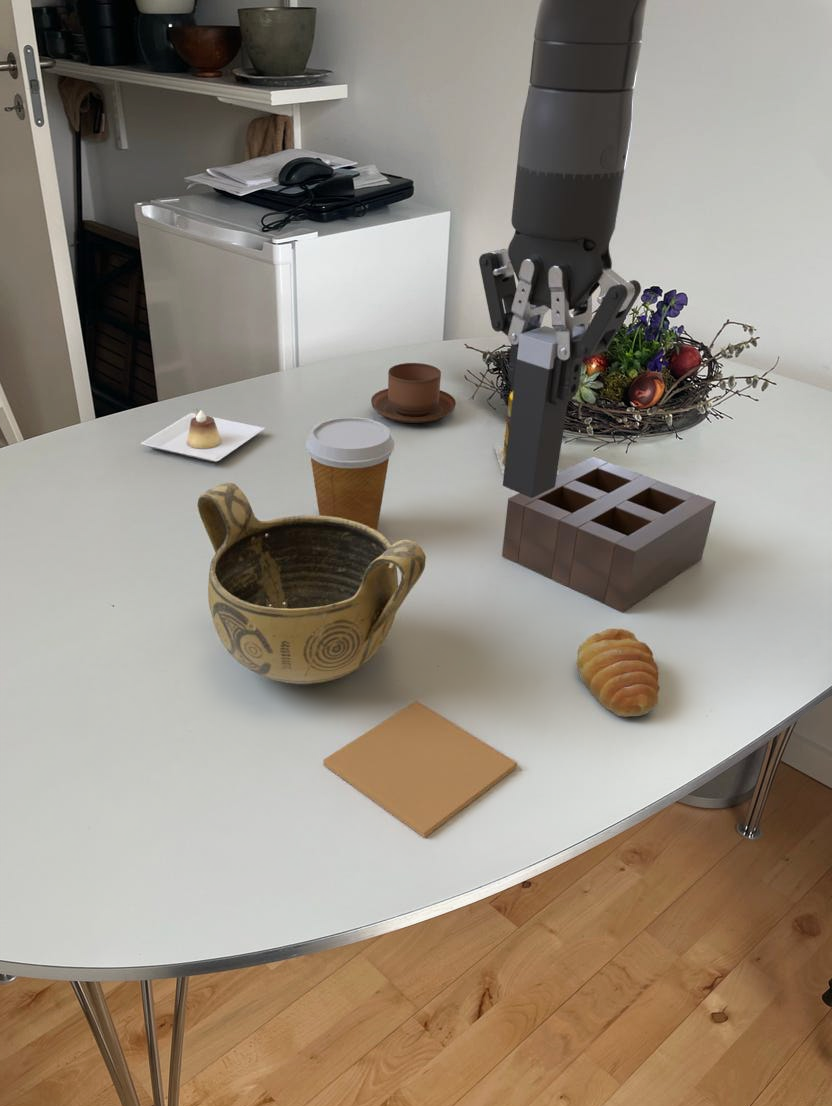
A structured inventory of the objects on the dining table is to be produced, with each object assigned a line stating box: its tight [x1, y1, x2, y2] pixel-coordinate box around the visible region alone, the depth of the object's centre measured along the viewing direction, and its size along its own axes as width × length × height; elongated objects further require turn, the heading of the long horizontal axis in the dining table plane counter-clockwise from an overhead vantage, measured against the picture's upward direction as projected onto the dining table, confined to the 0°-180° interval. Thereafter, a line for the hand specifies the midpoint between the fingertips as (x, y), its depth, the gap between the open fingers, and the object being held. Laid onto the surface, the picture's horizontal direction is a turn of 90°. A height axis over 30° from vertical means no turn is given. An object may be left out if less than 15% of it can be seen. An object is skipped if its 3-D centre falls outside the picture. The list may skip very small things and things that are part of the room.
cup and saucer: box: [370, 362, 457, 424], centre depth 137 cm, size 12×12×6 cm
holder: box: [501, 456, 717, 613], centre depth 103 cm, size 15×15×7 cm
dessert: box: [140, 409, 266, 463], centre depth 128 cm, size 12×12×5 cm
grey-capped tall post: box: [502, 325, 568, 498], centre depth 79 cm, size 3×3×13 cm
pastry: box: [576, 628, 660, 718], centre depth 85 cm, size 9×7×4 cm
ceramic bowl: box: [197, 481, 427, 685], centre depth 85 cm, size 22×17×15 cm
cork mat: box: [322, 700, 518, 838], centre depth 78 cm, size 11×11×1 cm
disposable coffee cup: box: [305, 416, 395, 531], centre depth 106 cm, size 10×10×12 cm
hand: (540, 394), depth 78 cm, fingers closed on grey-capped tall post, 3 cm apart
